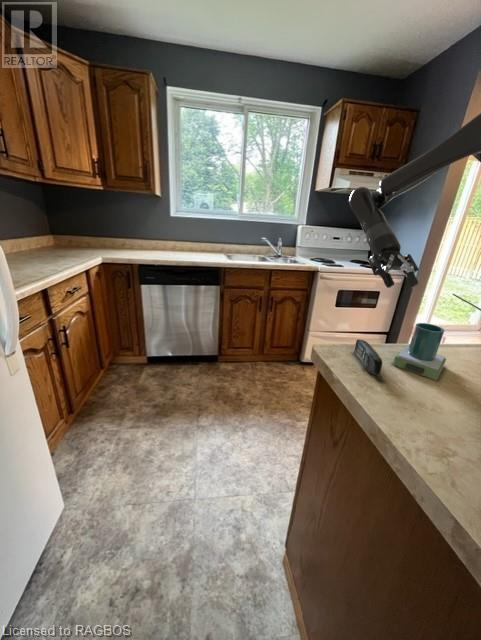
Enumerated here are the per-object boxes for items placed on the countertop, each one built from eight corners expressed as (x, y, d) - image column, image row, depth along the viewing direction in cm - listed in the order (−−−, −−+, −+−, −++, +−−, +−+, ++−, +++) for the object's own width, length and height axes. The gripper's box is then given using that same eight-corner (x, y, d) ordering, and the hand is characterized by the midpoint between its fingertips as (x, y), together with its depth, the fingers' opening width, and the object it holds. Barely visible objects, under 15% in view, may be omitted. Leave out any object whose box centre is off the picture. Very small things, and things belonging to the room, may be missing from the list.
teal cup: (411, 348, 77) (419, 321, 74) (436, 356, 73) (446, 327, 70) (405, 355, 73) (413, 326, 70) (432, 363, 69) (442, 334, 66)
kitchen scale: (403, 353, 80) (406, 344, 79) (443, 366, 74) (447, 356, 73) (392, 366, 73) (395, 355, 72) (435, 381, 67) (439, 370, 66)
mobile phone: (354, 337, 78) (377, 362, 64) (365, 338, 78) (390, 362, 64) (351, 353, 80) (373, 380, 65) (362, 353, 80) (385, 381, 65)
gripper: (370, 231, 78) (392, 279, 72) (409, 233, 82) (433, 278, 76) (355, 248, 85) (374, 293, 79) (391, 249, 89) (412, 291, 83)
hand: (403, 286), depth 77 cm, fingers open, 8 cm apart
